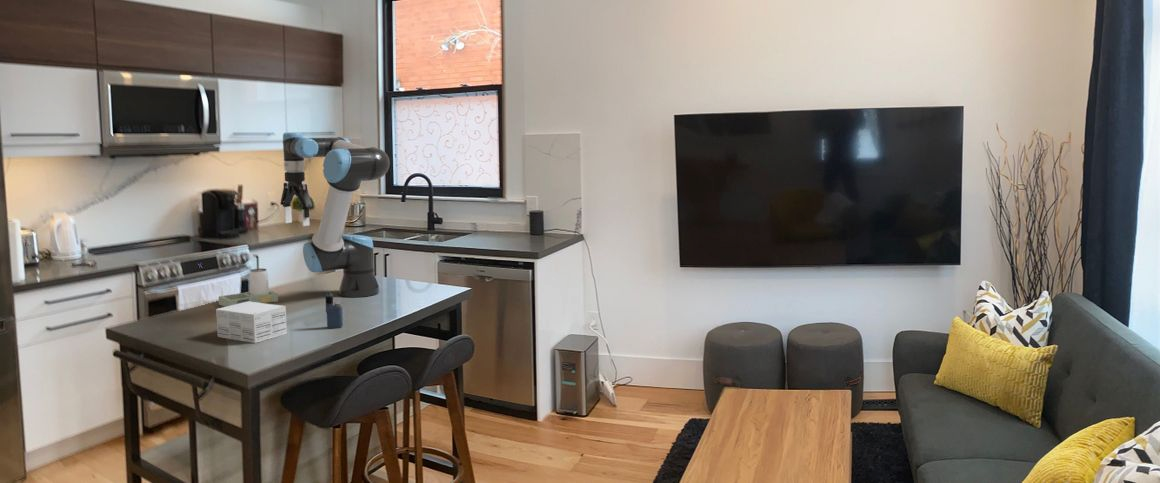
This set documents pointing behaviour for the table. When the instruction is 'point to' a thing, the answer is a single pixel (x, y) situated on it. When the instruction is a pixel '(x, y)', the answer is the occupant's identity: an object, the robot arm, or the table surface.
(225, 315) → the supplement box
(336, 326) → the vaping device
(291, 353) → the table surface
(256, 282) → the can
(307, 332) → the table surface
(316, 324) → the table surface
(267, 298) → the socket board
